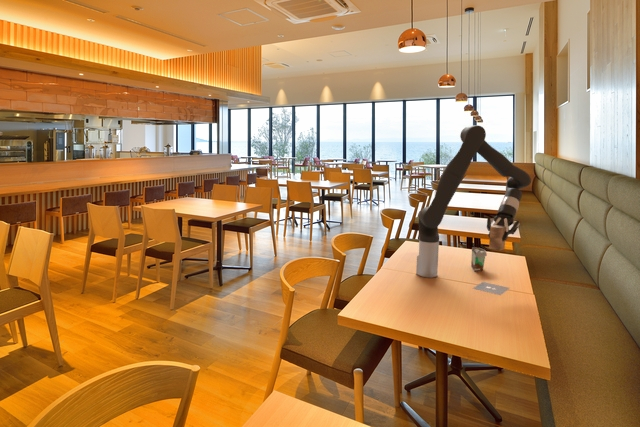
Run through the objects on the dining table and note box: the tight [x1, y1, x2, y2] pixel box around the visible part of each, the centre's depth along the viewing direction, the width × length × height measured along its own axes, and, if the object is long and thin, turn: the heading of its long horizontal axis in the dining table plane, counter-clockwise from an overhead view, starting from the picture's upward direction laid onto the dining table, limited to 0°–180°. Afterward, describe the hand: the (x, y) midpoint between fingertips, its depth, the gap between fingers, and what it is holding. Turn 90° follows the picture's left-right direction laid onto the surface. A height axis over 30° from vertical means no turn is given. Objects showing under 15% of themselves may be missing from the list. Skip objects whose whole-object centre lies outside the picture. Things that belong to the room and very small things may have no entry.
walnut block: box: [488, 224, 506, 252], centre depth 180 cm, size 5×5×10 cm
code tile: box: [472, 281, 510, 296], centre depth 181 cm, size 12×12×1 cm
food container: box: [470, 246, 488, 273], centre depth 208 cm, size 12×6×10 cm, turn 168°
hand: (496, 239), depth 179 cm, fingers closed on walnut block, 5 cm apart
